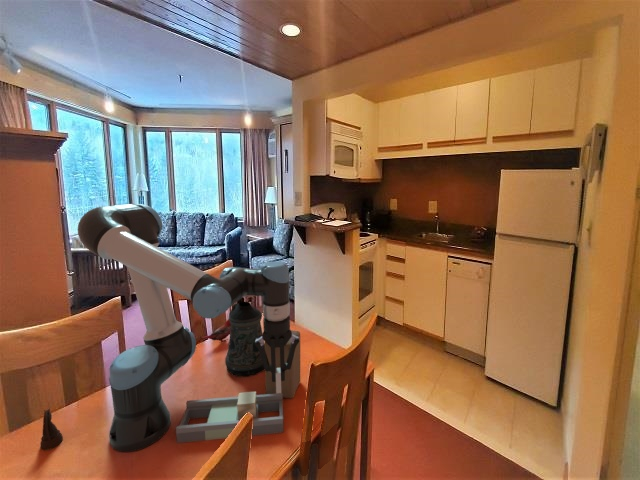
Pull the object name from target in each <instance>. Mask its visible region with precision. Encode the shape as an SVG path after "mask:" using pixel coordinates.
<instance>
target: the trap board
mask: <svg viewBox="0 0 640 480" xmlns="http://www.w3.org/2000/svg"><path fill="white" fill-rule="evenodd" d="M238 397H239V396H229V397H216V398H215V397H214V398H205V399H194V400H193V399H191V400H186V403H185V404H186V408H185V411H184V413H183V415H182V418H181V421H180V424H179V425H176V427H175V434H176V435H175V436H176V443H178V444H181V443H190V442H200V441H202V442H203V441H209V440H210V441H211V440H219V439H221V440H222V439H228V438H227V437H228V435H229V434H230V433H231V432H232V430H233V429H234V428H235V426H236V425H237V423H238V422H239V421H240V420H238V413H237V402H238ZM283 405H284V402H283V397H282V393H276V394H266V393H263V394H256V417H255V418H253V429H252V436H261V435H262V436H263V435H270V434H271V435H272V434H281V433H282V434H283V433H284V411H283V410H284V408H283V407H284V406H283ZM269 412H270V413H271V412H279V416H270V417H259V414H260V413H269ZM201 417H202V418H207V422H205V423H193V424H189V422H190V420H191V419H190V418H192V419H200V418H201ZM202 418H201V419H202Z"/></svg>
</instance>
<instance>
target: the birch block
mask: <svg viewBox="0 0 640 480" xmlns="http://www.w3.org/2000/svg"><path fill="white" fill-rule="evenodd" d="M256 395H257V391H245V392H244V391H243V392H239V393H238V396H237V397H238V402H237V413H238V420H240V419H241V418H242V417H243V416H244V415H245V414H246V413H248V412H250V413H251V414H252V415H253V418H255V417H256Z"/></svg>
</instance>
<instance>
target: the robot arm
mask: <svg viewBox="0 0 640 480" xmlns="http://www.w3.org/2000/svg"><path fill="white" fill-rule="evenodd" d="M162 230H163V220H162V218H161V216H160V214H159V213H158V212H157V211H156V210H155V209H154V208H153V207H151V206H149V205H147V204H144V203H143V204H142V203H129V204H119V205H109V206H108V205H107V206H106V205H104V206H98V207H95V208H92V209H90V210H88V211H87V212H86V213H84V214H83V216H82V217H81V218H80V219H79V222H78V225H77V235H78V238H79V240H80V242H81V244H82V245H83V247H85V248H86V249H87V250H89V251H90V252H91V253H92V254H94V255H95V256H98V257H100V258H101V259H104V260H112V259H113V260H114V261H116V262H118V263H120V264H122V265H124V266H125V267H127V270H128V273H129V277H130V279H131V283H132V286H133V290H134V293H135V296H136V299H137V304H138V306H139V309H140V312H141V316H142V319H143V322H144V325H145V328H146V332H145V334H144V336H143V337H142V338H143V342H144V344H143V345H137V346H134V348H130V347H129V348H128V349H125V350H124V351H123V352H121V353H119V354H118V355H117V356H116V357H115V358H114V359H113V360H112V362H111V364H110V367H109V377H108V378H109V379H108V380H109V381H108V382H109V385H110V391H111V398H112V399H111V400H112V405H113V411H114V412H113V413H114V414H113V417H112V418H113V419H112V422H111V425H110V429H109V434H108V436H109V444H110V447H111V448H112V449H113V450H115V451H117V452H121V453H129V452H135V451H139V450H142V449H144V448H147V447H149V446H151V445H152V444H154V443H156V442H157V441H159V440H160V439H161V438H162V437H163V436H165V434H166V433H167V431H168V430H169V428H170V426H171V413H170V410H169V409H168V407H167V405H166V403H165V401H164V399H163V397H162V387H161V386H162V385H163V384H164V383H165V382H166V381H167V380H168V379H169V378H171V376H172V375H174V374H175V373H176V372H177V371H178V370H180V369H181V368H182V367H184V366H185V365H186V364H187V363H188V362H189V361H190V359H191V358H192V357H193V355H195V352H196V347H197V341H196V337H195V334H194V333H193V332H192V331H190V329H189V328H188V327H185V326H184V324H183V322H180V321H178V320H177V318H176V314H175V311H174V307H173V304H172V301H171V297H170V295H169V291H168V289H169V290H172V291H173V292H174V293H176V294H178V295H180V296H183V298H186V299H187V300H190V301H191V302H192V306H193V309H194V310H195V311H196V313H197V314H198V315H199V316H200V317H202V318H204V319H207V320H209V319H214V318H217V317H218V316H221V315H222V314H224V313H226V312H227V311H228V310H229V309H230V308H231V307H233V305H234V304H237V303H238V302H239V301H240V300H241V299H243V298H245V297H246V296H255V297H256V296H258V297H262V300H261V301H262V318H263V321H262V323H263V331H262V336H261V337H260V338H256V339H255V346H256V347H257V348H258V349H259V352H260V355H261V359H262V362H263V365H264V368H265V370H264V372H265V371H266V372H268V371H270V372H271V373H272V382H276V393H281V381H284V380H285V370H287V369H288V370H290V369H291V365H292V361H293V357H294V353H295V348H296V346H297V344H298V343H299V336H298V335H296V336H295V335H293V334H292V332H291V315H290V313H291V312H290V308H291V307H290V306H291V305H290V276H289V275H290V274H289V267H288V264H287V263H285V262H284V261H278V260H277V261H276V260H274V261H267V262H266V261H265V262H263V263H262V264H261V266H260V267H261V268H248V267H246V268H245V267H239V266H232V267H225V268H224V269H223V270H222V272H221V273H219V274H220V275H219V277H218V278H217V277H215V276H213V275H212V274H210V273H208V272H206V271H203V270H201V269H200V268H197V267H196V266H194V265H192V264H189V262H186V261H184V260H182V259H180V258H179V257H176V256H175V255H173V254H170V253H169V252H166V251H165V250H163V249H161V248H159V245H160V241H159V236H160V235H161V233H162ZM290 338H291V346H290V350H289V354H288V359H287V363H284V346H285V345H286V344H287V342H288V341H289V340H290ZM265 342H266V343H267V344H268V345H269V346H270V347H271V365H270V364H269V361H268V358H267V355H266V352H265V348H264V345H263V344H265ZM276 347H279V348H280V368H276V359H275V348H276Z"/></svg>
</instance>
